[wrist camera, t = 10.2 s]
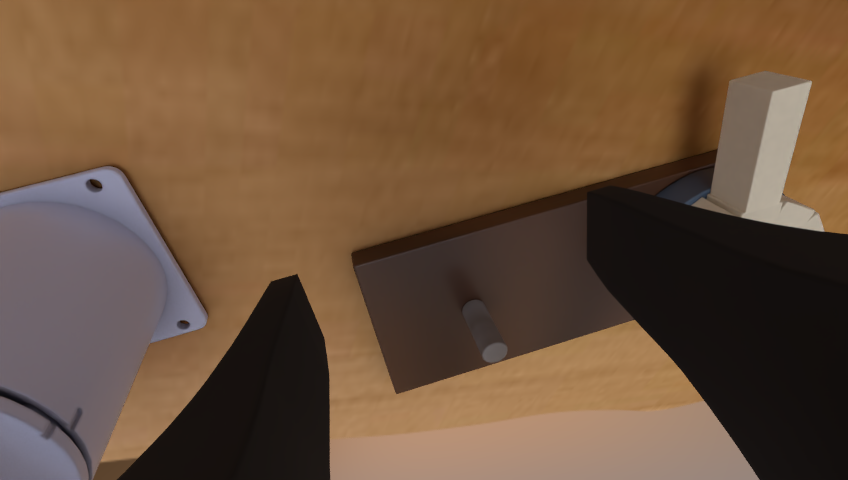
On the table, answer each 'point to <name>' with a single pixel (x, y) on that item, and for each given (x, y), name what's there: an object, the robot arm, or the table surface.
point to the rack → (500, 281)
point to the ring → (760, 151)
